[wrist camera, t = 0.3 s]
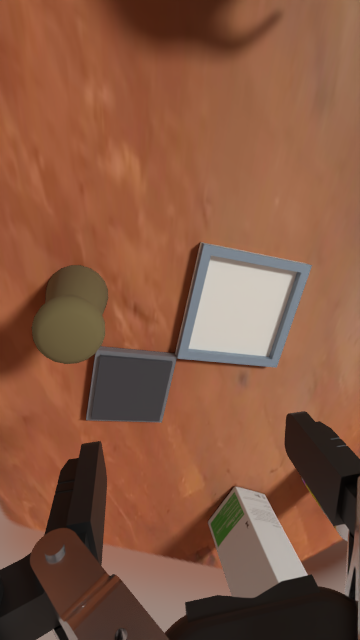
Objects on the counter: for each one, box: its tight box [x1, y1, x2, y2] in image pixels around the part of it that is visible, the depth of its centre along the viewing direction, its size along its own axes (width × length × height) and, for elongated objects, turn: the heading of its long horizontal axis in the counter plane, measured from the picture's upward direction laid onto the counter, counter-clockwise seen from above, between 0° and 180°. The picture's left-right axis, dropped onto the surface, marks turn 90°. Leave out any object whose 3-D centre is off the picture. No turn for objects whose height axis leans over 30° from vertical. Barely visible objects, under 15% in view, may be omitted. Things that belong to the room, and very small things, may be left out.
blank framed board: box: [175, 242, 312, 367], centre depth 37 cm, size 13×13×1 cm
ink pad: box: [86, 346, 177, 422], centre depth 37 cm, size 9×9×2 cm
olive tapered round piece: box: [32, 265, 108, 364], centre depth 27 cm, size 6×6×11 cm
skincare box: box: [208, 486, 307, 598], centre depth 43 cm, size 8×7×16 cm
